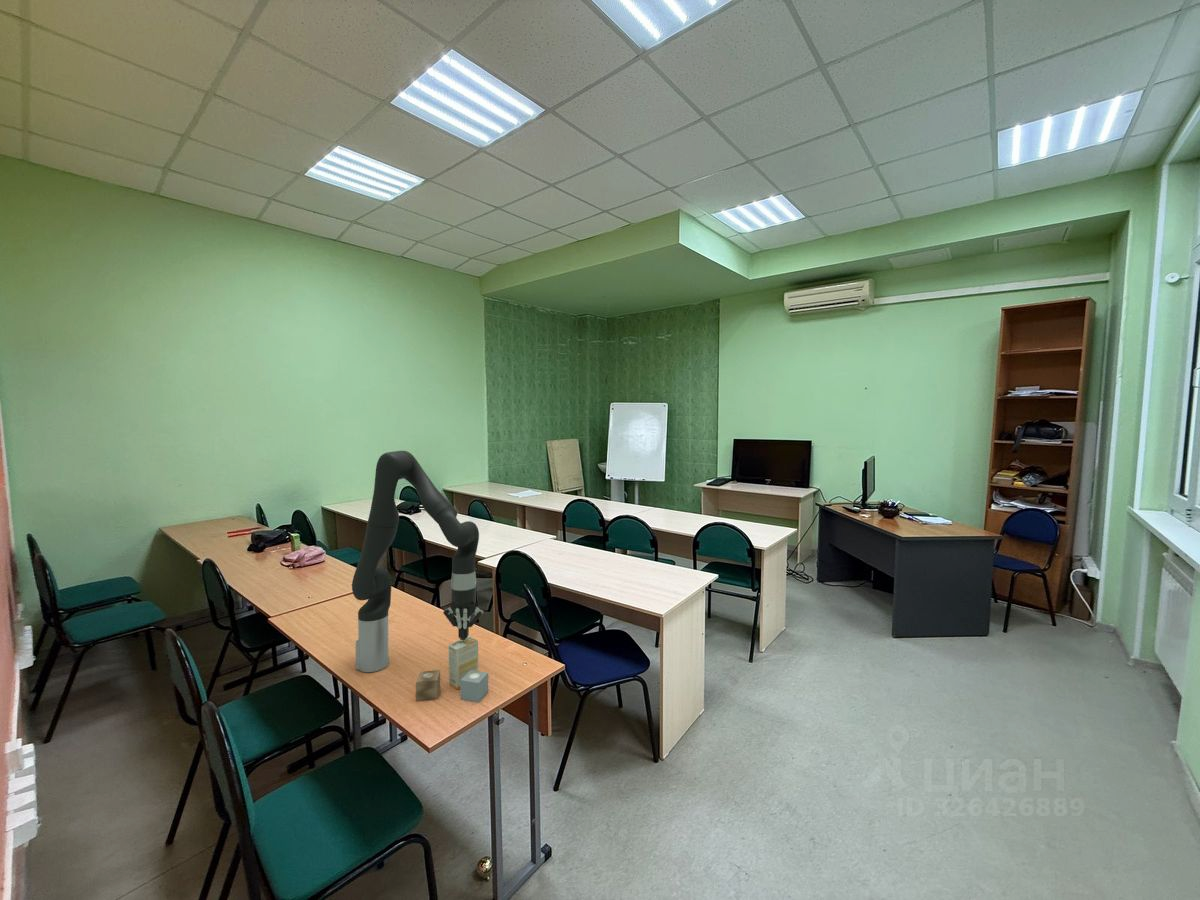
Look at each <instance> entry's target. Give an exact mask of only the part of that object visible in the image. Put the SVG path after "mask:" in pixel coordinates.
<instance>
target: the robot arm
mask: <svg viewBox="0 0 1200 900" xmlns="http://www.w3.org/2000/svg"><path fill="white" fill-rule="evenodd" d="M403 479H404V480H405V481H407V482H408V483H409V484H411V485H412V487H413V489H415V492H417V495H418V497H419V501H420V503H421V505H422V507H423V509H424V511H425V512H426V513H427V514H428V515H429V516H430V518H432V519H433V521H434V522H436V524H437V525H438V526H439V529H440V531H441V533H442V534H443V536H444V538H446V541H448V543H449V544H450V545H452V546H453V547H455V548H457V550H456V552H455V553H454V554H453V556H452V560H451V565H452V566H451V567H452V568H451V581H450V583H451V590H450V591H451V593H450V595H451V596H450V597H451V602H450V605H449V607H447V608H446V609H444V611H443V615H444V616H445V617H446V619H447V620H448V621H449V623H450V624H451V625H452V627H456V628H457V631H458V633H457V634H458V635H457V636H458V639H459V641H460V640H465V639H466V638H467V637H469V636H470V634H469V631H470V630H469V628H473V626H474V625H475V624H476V622H477V621H478V620H479V618H480V617H481V616H482V615H483V614H484V612H485V611H484V609H480V608H479V607H478V603H477V575H476V554H477V550H478V546H479V541H480V540H479V539H480V532H479V528H478V526H477V525H476V523H475V522H474V521H467V520H466V521H464V522H460V521H459V519H458V518H457V517H458V511H457V509H456V508H455V507H454V505H452V503H451V502H450V501H448V499H447V498H446V497H445V496H444V495H443V494H442V493H441V492H440V490H438V488H437V487H436V486H435V484H434V483H433V481H431V479H430V477H429V476H428V474H427V473H426V472H425V470H424V469H423V467H422V465H421V464H420V462H418V460H417V458H416V457H415V456H414V455H413V454H412V453H411V452H409V451H407V450H396V451H395V450H394V451H389V452H384V453H383V454H381V455H380V456H379V457H378V460H377V462H376V467H375V475H374V485H373V486H374V487H373V495H372V500H371V504H370V505H371V506H370V511H369V516H368V518H367V524H366V528H365V535H364V539H363V544H362V548H361V552H360V556H359V560H358V562H357V565H356V567H355V570H354V571H355V572H354V575H353V577H352V582H351V591H352V594H353V597H354V598H355V599H356V600H359V601H366V602H365V603H364V604H363V605H362V606H361V607H360V608H359V609H358V611H357V619H358V620H357V624H358V625H357V626H358V630H357V632H358V633H357V634H358V637H357V638H358V639H357V640H356V641H355V670H359V671H360V672H362V673H374V672H378V671H381V670H383V669H385V668H387V666H388V665H389V664H390V663H389V661H390V660H389V659H390V657H389V656H390V655H389V654H390V653H389V651H390V650H389V649H390V648H389V632H390V631H389V610H390V607H391V599H392V598H391V597H392V579H391V574H390V572H389V571H388V569H386V568H385V567H384V566H378V565H379V562H380V560H381V559H382V557H383V556H384V554H385V553H386V552H387V551H388V550H389V548H390V547H391V545H392V544H393V541H394V540H395V538H396V537H397V536H396V535H397V532H398V527H399V523H400V522H399V521H400V515H399V510H398V507H397V505H396V500H395V495H396V489H397V485H398V482H399V480H403ZM473 613H474V617H473V618H472V620H471V616H472V615H473Z"/></svg>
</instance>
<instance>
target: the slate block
mask: <svg viewBox="0 0 1200 900" xmlns="http://www.w3.org/2000/svg"><path fill="white" fill-rule="evenodd" d="M459 689H460V690H459V693H460V694H459V696H460V697H459V699H460V700H462V701H466V702H467V701H468V702H475V703H479V702H481V700H482V699H483V698H484V697H485V696H486V694H487V693H488V692H489V672H485V671H479V670H478V671H473V670H470V671H469V672H468V673H467V674H466V675H465V676H464V677H463V678H462V679H461V680H460V688H459Z"/></svg>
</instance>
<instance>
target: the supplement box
mask: <svg viewBox="0 0 1200 900" xmlns="http://www.w3.org/2000/svg"><path fill="white" fill-rule="evenodd" d="M447 647H448V684H449V686H451V687H453V688H454V689H456V690H459V689H460V680H461V679H462V678H463V677H464V676H465V675H466V674H467V673H468V672H469V671H470V670H473V671H479V640H478V639H476V638H475V637H472V636H470V635H468V637H467V638H466V639H465V640H460V639H459V640H457V641H455V642H452V643H450V644H448V646H447Z"/></svg>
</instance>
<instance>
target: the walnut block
mask: <svg viewBox="0 0 1200 900" xmlns="http://www.w3.org/2000/svg"><path fill="white" fill-rule="evenodd" d="M440 691H441V670H440V669H437V670H425V671H419V672H418V676H417V678H416V681H415V702H424V701H435V700H438V699H439V694H440Z"/></svg>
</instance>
